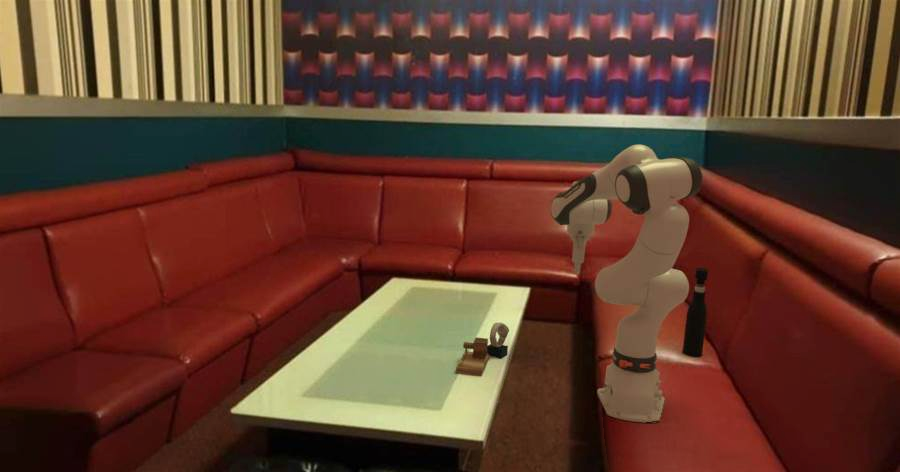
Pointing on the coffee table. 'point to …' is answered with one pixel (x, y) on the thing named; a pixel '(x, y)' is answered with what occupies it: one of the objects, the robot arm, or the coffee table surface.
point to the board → (471, 365)
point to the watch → (496, 347)
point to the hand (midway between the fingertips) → (577, 270)
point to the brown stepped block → (477, 347)
